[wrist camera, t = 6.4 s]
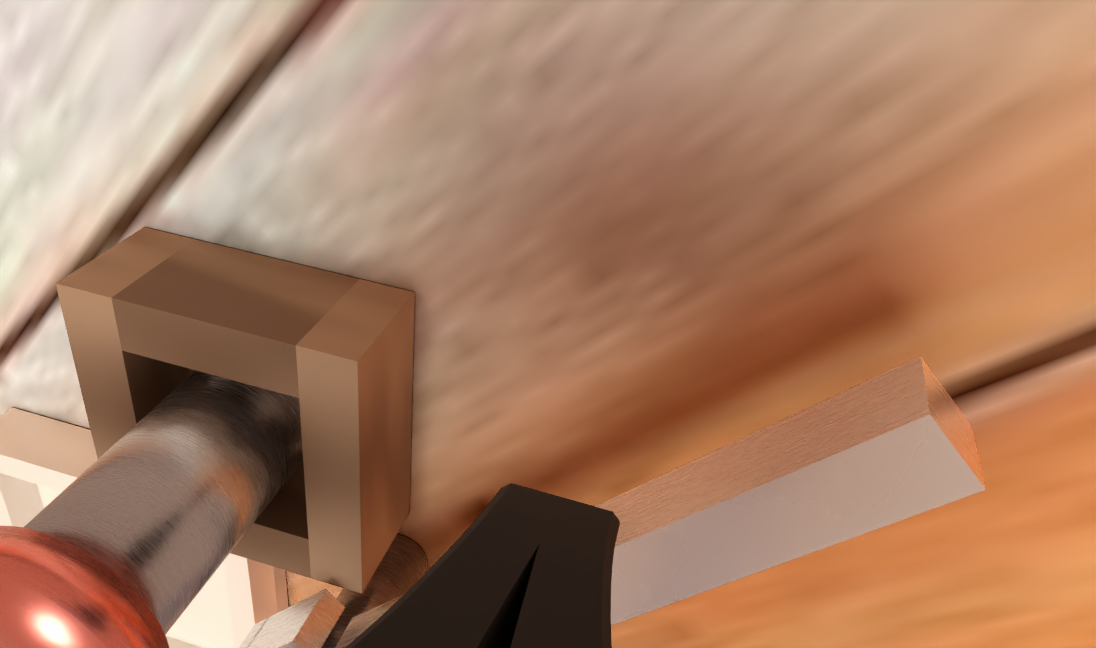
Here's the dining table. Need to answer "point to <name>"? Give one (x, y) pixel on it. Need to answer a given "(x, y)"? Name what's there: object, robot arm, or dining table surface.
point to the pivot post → (382, 584)
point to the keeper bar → (753, 500)
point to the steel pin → (148, 519)
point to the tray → (59, 459)
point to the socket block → (262, 380)
